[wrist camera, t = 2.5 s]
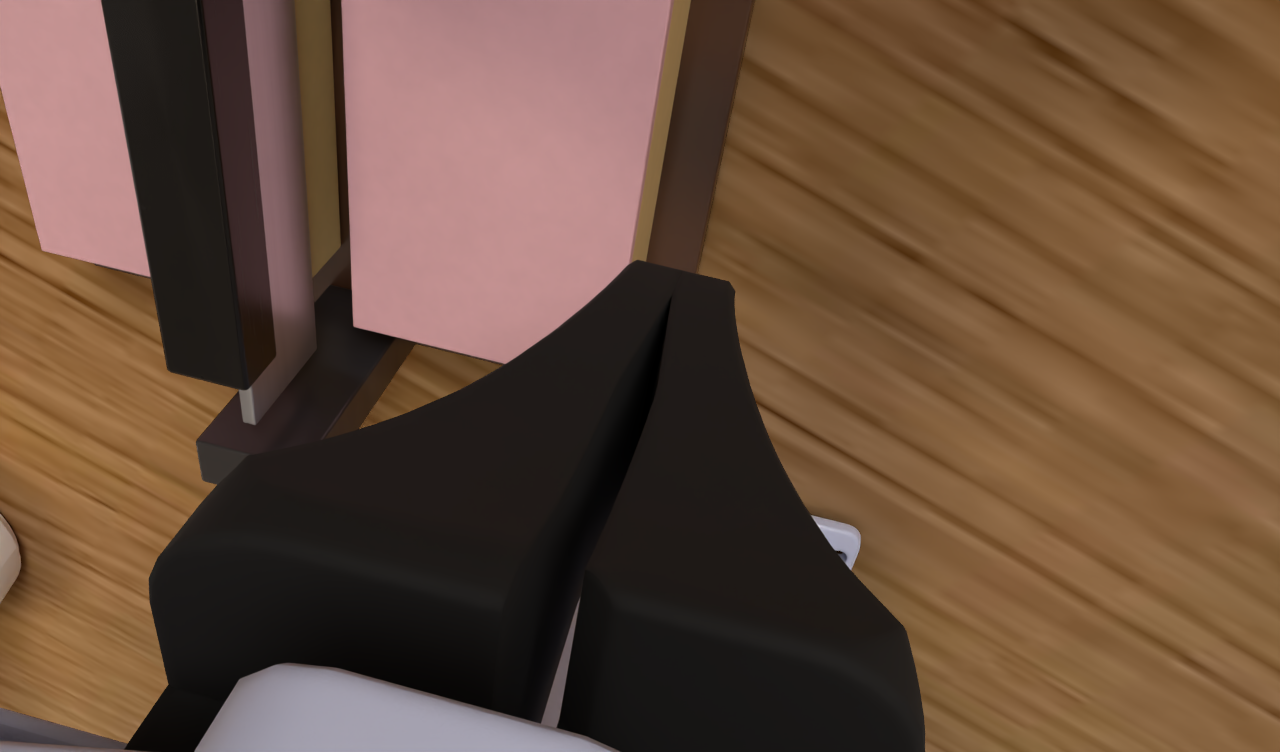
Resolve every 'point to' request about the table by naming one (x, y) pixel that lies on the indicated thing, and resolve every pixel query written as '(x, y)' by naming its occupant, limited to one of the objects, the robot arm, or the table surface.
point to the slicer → (367, 361)
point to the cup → (8, 558)
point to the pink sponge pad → (402, 152)
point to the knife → (220, 185)
